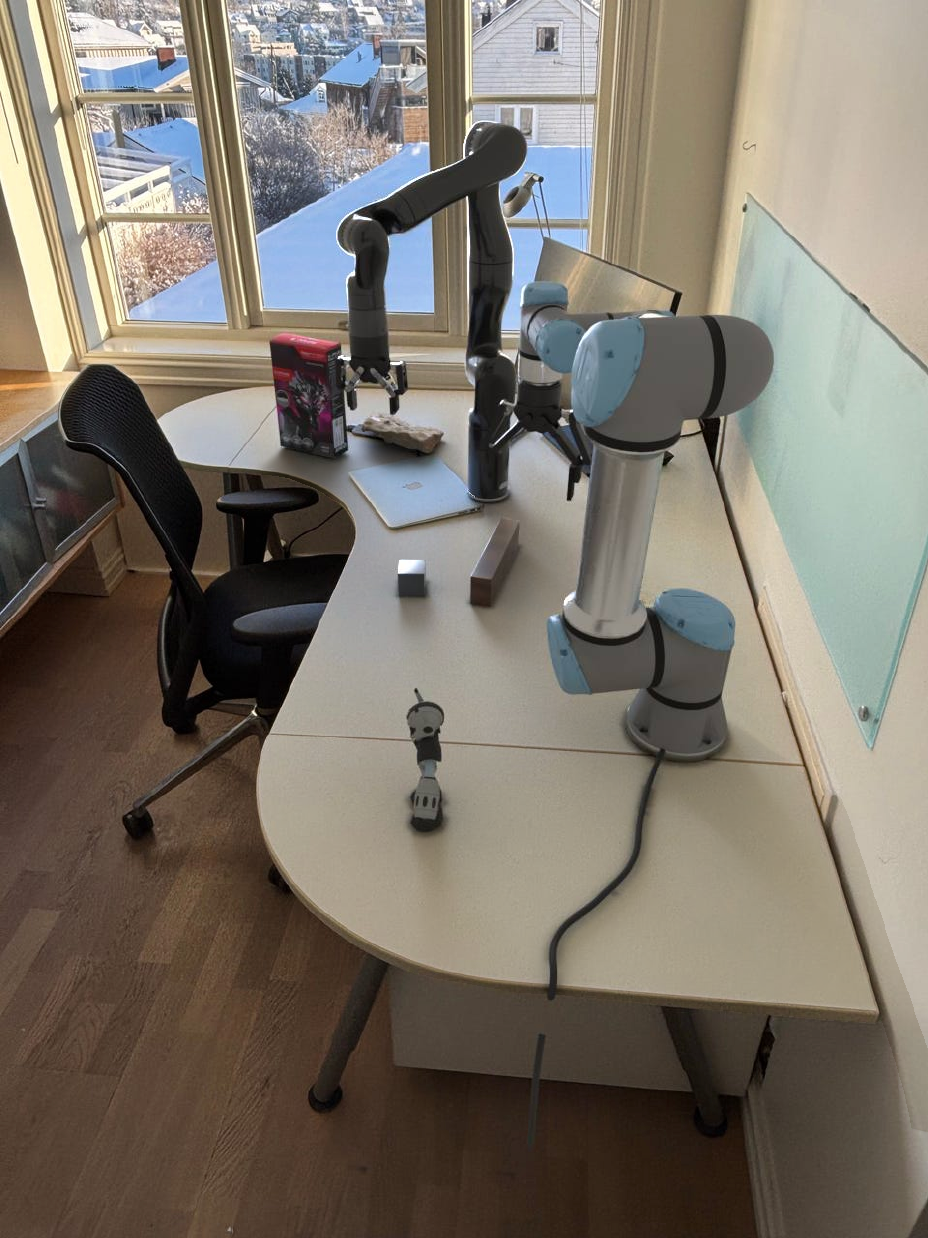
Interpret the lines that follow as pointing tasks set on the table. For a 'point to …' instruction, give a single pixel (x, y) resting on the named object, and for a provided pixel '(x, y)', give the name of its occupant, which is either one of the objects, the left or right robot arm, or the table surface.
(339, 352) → the graphics card box
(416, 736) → the robot
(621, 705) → the table surface
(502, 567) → the walnut bar
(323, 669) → the table surface
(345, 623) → the table surface
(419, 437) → the stone
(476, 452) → the left robot arm
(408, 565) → the slate cube
